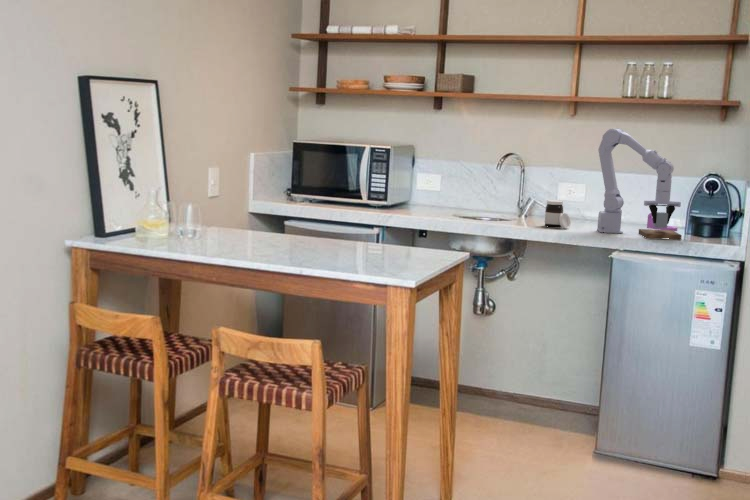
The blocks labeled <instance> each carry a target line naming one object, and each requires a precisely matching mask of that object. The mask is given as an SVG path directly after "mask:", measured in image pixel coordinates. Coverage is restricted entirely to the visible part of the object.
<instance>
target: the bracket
mask: <svg viewBox="0 0 750 500" xmlns="http://www.w3.org/2000/svg"><path fill="white" fill-rule="evenodd" d="M646 229H652V230H673V231H675V232H677V231H678V227H677V226H671V225H667V228H656V227H654V226H653V218H652V214H651V212H650V213H649V214H648V216H647V221H646Z"/></svg>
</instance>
